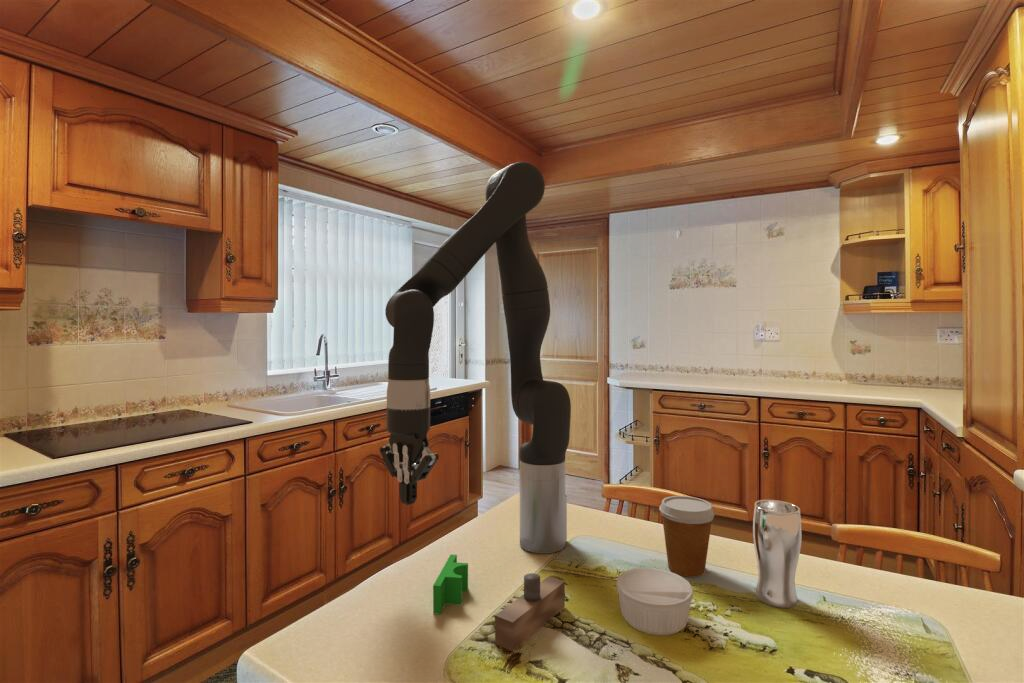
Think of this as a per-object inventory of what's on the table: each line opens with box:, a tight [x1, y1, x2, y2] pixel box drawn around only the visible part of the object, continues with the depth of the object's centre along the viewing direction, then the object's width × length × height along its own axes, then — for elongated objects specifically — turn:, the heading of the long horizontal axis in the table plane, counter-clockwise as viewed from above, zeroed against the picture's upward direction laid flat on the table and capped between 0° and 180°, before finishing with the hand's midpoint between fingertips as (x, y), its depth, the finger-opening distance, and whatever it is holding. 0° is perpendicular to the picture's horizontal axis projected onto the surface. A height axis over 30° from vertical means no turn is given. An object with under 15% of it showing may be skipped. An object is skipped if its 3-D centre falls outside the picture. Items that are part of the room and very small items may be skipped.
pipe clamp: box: [432, 554, 469, 615], centre depth 85 cm, size 11×4×5 cm, turn 173°
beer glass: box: [752, 499, 803, 609], centre depth 84 cm, size 7×7×15 cm
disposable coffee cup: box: [658, 495, 716, 578], centre depth 94 cm, size 10×10×12 cm
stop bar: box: [494, 573, 566, 652], centre depth 76 cm, size 14×3×7 cm, turn 144°
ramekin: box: [615, 567, 694, 636], centre depth 78 cm, size 11×11×5 cm
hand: (408, 502), depth 91 cm, fingers closed
